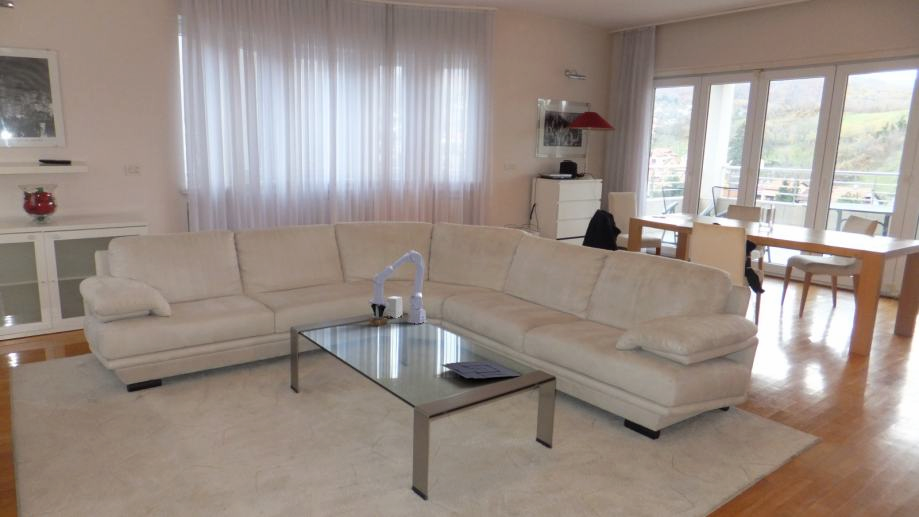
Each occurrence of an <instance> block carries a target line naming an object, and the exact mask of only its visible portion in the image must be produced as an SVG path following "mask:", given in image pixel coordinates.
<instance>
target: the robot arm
mask: <svg viewBox="0 0 919 517" xmlns="http://www.w3.org/2000/svg"><path fill="white" fill-rule="evenodd" d="M411 262H412V263H413V264H414V266H415V268H416V269H415V275H414V284H413V289H412V293H411V297H410V298H409V300H408V302H409V305H410V307H409V309H410V310H409V320H407V321H406V323H409V324H410V323H411V324H414V323H415V324H414V325H419V324H418V323H422V322H424V323H422V324H425V323H427V311H426V309H424V308H423V305H424V301H423V294H422V293H423V292H422V291H423V287H424V286H423V284H424V276H425V269H426V264H425V261H424V258H423V256H422V254H421V253H420V252H417V251H416V250H413V249H412V250H411V249H410V250H409V251H408V252H406V253H404V254H403V255H402V256H401V257H399V259H397V260H396V261H395V262H394V263H393V264H392V265H387V266H384V268H383V269H381V271H378V273H376V274H374V275H373V277H372V281H373V299H369V300H368V304H370V308H371V310H372V311H373V315H374V317H376V305H380V306H378V310H379V317H384V316H383V315H384V311H385V310H386V309H387V306H389V303H387V301H385V300H384V283H385V281H386V280H387V279H389V278H390V277H391V276H392V275H394V274H395V270H397V269H398V268H400V267H401V266H403V265H404V264H406V263H411Z"/></svg>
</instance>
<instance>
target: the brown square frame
mask: <svg viewBox="0 0 919 517" xmlns="http://www.w3.org/2000/svg"><path fill="white" fill-rule="evenodd" d="M368 322H369V324H370V326H374V327H384V326H386V325H388V317H384V316H382V317H381V320H376V316H374V317H371V318H369V321H368Z"/></svg>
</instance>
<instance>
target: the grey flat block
mask: <svg viewBox="0 0 919 517" xmlns="http://www.w3.org/2000/svg"><path fill="white" fill-rule="evenodd" d="M441 366H442V367H444V368H446V369H448V370H451V371H453V372H454V373H456V374H458V375H460V376H462V377H464V378H465V379H470V378H471V379H472V378H473V379H488V378H500V377H518V376H519V377H520V376H521V374H519V373H517V372H515V371H513V370H510V369H507V368H505V367H503V366H501V365H498V364H497V363H496V362H492V361H489V360H486V361H484V360H482V361H481V360H477V361H456V362H449V363H445V364H441Z"/></svg>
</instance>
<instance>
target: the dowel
mask: <svg viewBox="0 0 919 517" xmlns="http://www.w3.org/2000/svg"><path fill="white" fill-rule="evenodd" d="M378 306H380V305H376V316H375V317H376V320H381V317H379V310H378Z"/></svg>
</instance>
